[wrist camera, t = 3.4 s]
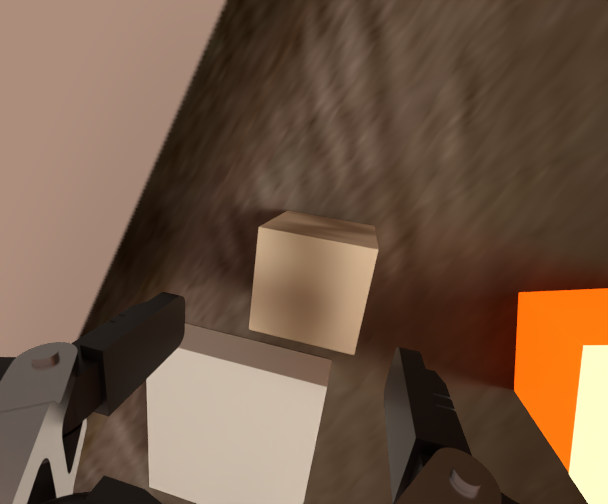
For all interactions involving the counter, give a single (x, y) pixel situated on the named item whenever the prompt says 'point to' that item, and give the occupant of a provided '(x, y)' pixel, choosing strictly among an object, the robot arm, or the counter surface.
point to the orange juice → (567, 379)
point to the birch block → (312, 279)
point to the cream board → (234, 420)
